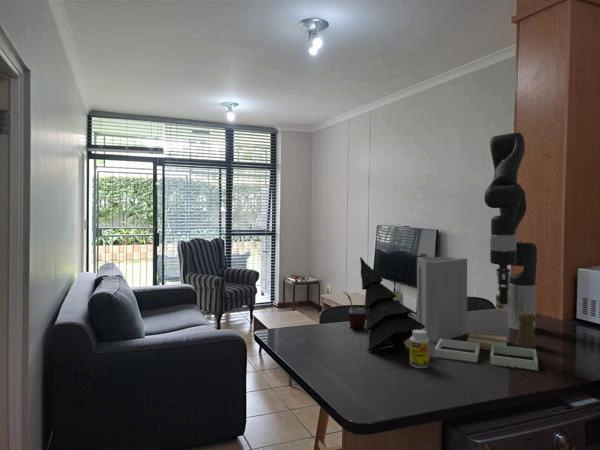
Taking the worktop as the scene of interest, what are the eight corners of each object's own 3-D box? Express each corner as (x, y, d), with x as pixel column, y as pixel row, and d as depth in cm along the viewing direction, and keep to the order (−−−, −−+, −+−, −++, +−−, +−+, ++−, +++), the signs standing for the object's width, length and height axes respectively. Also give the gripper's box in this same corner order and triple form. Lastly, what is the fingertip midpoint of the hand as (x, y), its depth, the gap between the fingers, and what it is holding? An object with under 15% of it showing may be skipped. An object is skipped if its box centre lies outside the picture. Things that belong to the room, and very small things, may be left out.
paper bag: (434, 325, 173) (434, 255, 172) (468, 333, 161) (468, 258, 161) (403, 333, 162) (402, 259, 161) (437, 342, 150) (436, 262, 149)
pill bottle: (493, 308, 140) (493, 284, 140) (506, 307, 141) (506, 284, 140) (501, 311, 136) (500, 287, 135) (514, 311, 136) (514, 286, 136)
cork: (539, 348, 143) (539, 315, 143) (519, 347, 144) (519, 314, 144) (533, 342, 149) (533, 311, 149) (514, 341, 150) (514, 310, 150)
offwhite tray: (440, 345, 147) (440, 338, 147) (479, 350, 141) (479, 342, 141) (434, 356, 135) (434, 348, 135) (477, 362, 130) (477, 354, 130)
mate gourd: (369, 327, 170) (368, 290, 170) (360, 332, 164) (360, 293, 163) (351, 325, 174) (351, 288, 174) (343, 330, 168) (342, 291, 167)
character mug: (393, 329, 168) (393, 295, 168) (378, 325, 173) (378, 293, 173) (409, 324, 175) (409, 292, 175) (395, 320, 181) (394, 290, 180)
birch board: (469, 337, 155) (469, 332, 155) (506, 341, 150) (506, 336, 150) (466, 347, 145) (466, 341, 145) (506, 352, 139) (506, 345, 139)
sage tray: (491, 351, 140) (491, 344, 140) (535, 357, 134) (535, 349, 134) (490, 364, 128) (490, 355, 128) (537, 370, 123) (537, 361, 123)
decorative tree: (404, 355, 147) (365, 266, 163) (432, 339, 136) (387, 245, 153) (371, 363, 139) (333, 268, 156) (398, 347, 129) (354, 247, 145)
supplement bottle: (409, 367, 126) (409, 333, 126) (410, 361, 131) (410, 328, 131) (429, 369, 124) (429, 334, 124) (429, 363, 130) (429, 329, 129)
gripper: (490, 246, 145) (491, 296, 146) (489, 250, 132) (490, 306, 133) (515, 246, 142) (515, 298, 143) (517, 251, 129) (517, 308, 130)
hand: (503, 301), depth 138 cm, fingers closed on pill bottle, 4 cm apart
